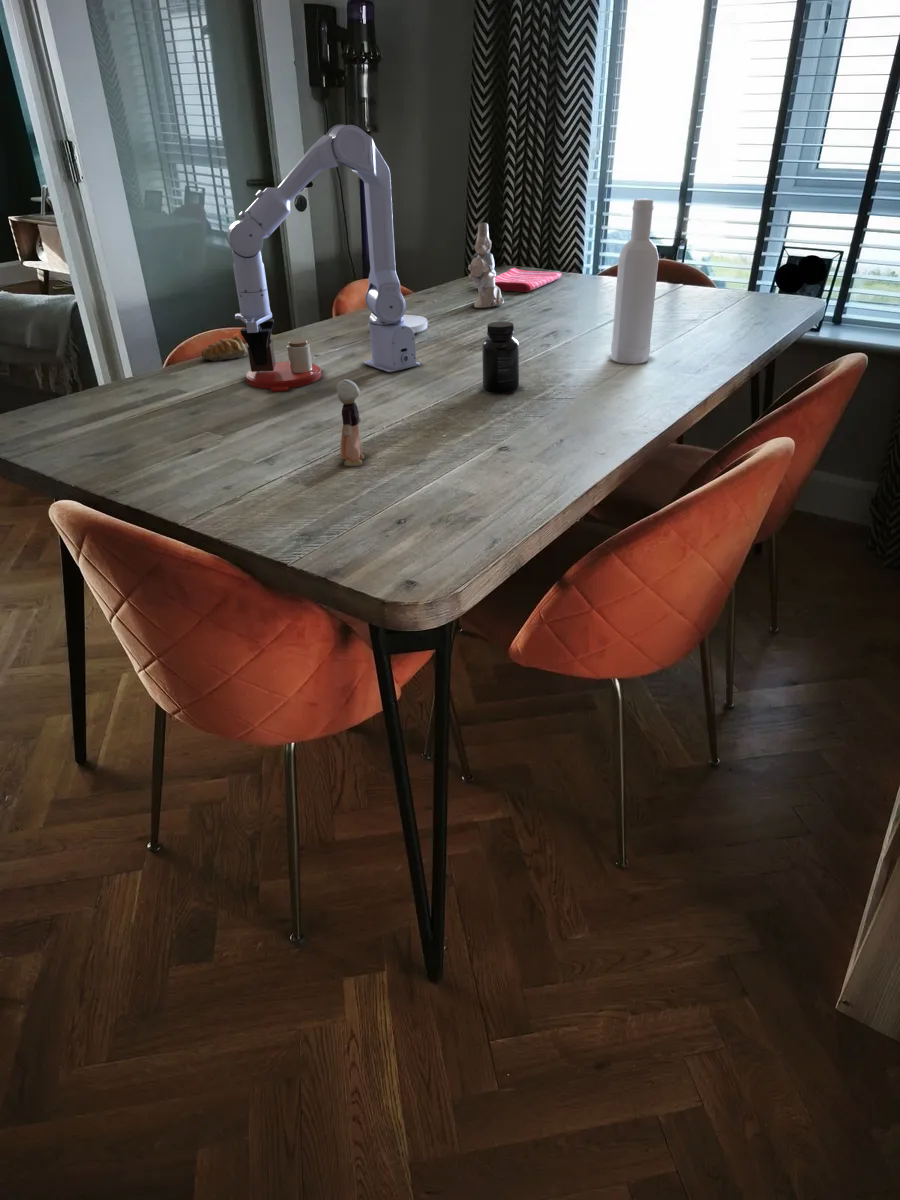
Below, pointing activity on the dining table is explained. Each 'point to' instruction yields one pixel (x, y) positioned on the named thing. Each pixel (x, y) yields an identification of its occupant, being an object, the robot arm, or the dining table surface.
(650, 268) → the bottle
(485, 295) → the figurine
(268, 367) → the walnut block
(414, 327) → the plastic lid
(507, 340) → the supplement bottle
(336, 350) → the dining table surface
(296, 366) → the spice pot
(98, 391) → the dining table surface
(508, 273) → the dish towel
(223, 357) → the pastry
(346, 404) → the grandmother figurine
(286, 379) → the red lid
